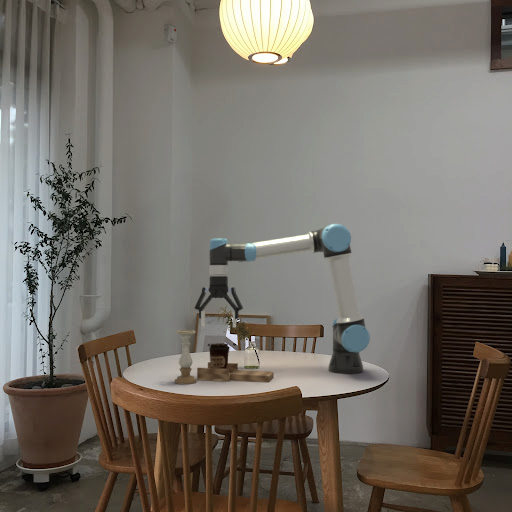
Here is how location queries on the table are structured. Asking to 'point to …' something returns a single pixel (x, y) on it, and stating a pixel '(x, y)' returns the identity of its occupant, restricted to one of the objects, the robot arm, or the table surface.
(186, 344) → the candle holder
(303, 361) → the table surface
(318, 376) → the table surface
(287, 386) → the table surface
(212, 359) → the coffee cup
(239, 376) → the wooden stepped block
